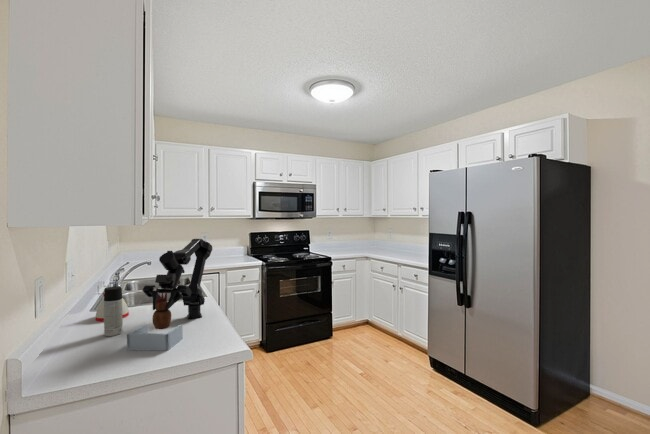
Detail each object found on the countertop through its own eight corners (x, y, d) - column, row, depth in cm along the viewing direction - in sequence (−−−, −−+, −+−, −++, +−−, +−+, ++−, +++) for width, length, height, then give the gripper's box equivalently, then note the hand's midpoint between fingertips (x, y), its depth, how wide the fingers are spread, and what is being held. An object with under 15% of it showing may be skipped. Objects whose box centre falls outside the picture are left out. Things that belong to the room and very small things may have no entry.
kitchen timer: (126, 319, 158) (126, 288, 158) (92, 323, 152) (92, 292, 152) (130, 311, 171) (129, 283, 170) (99, 315, 165) (98, 286, 165)
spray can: (120, 329, 143) (119, 285, 143) (124, 333, 138) (123, 287, 138) (102, 333, 138) (101, 287, 138) (106, 338, 133) (105, 290, 133)
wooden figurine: (173, 325, 134) (172, 289, 133) (167, 330, 128) (166, 293, 128) (157, 325, 134) (156, 290, 133) (150, 331, 128) (149, 294, 127)
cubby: (144, 338, 132) (144, 324, 132) (182, 338, 131) (182, 324, 131) (127, 350, 121) (126, 334, 121) (168, 350, 120) (167, 334, 120)
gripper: (144, 266, 134) (127, 300, 124) (187, 266, 134) (174, 300, 123) (155, 280, 143) (141, 313, 132) (196, 280, 142) (185, 313, 131)
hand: (160, 309), depth 129 cm, fingers closed on wooden figurine, 5 cm apart
